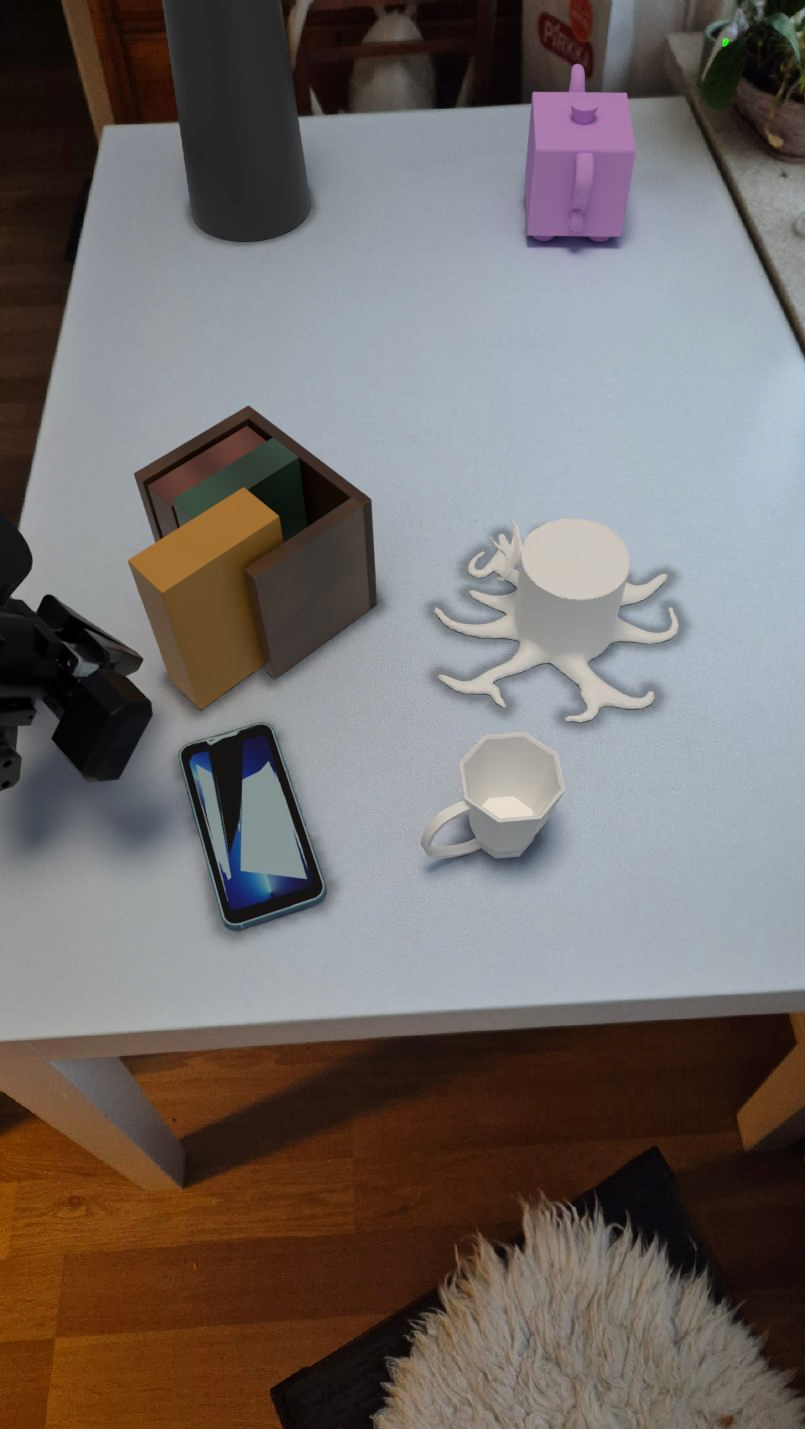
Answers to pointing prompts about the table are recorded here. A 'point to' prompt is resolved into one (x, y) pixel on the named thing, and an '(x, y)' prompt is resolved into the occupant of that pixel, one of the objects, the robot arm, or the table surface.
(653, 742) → the table surface
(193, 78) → the vase
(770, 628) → the table surface
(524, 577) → the tree stump
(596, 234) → the teapot
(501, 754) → the cup
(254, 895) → the smartphone
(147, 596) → the ochre book
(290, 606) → the bookshelf
